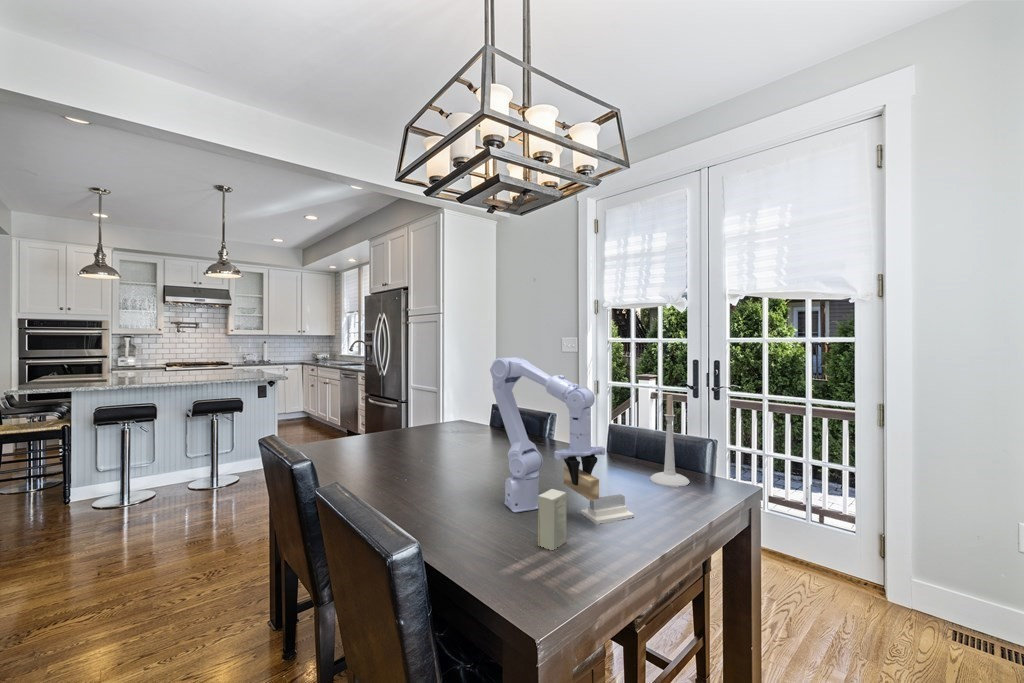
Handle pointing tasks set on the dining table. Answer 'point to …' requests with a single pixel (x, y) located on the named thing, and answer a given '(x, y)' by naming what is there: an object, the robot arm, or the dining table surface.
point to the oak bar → (583, 484)
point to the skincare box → (551, 519)
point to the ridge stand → (607, 509)
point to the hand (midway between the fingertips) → (580, 483)
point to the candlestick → (669, 455)
